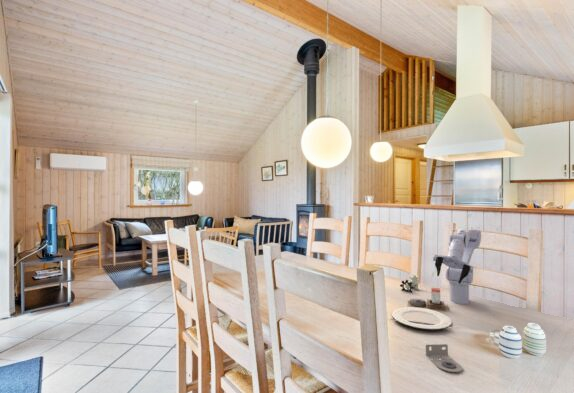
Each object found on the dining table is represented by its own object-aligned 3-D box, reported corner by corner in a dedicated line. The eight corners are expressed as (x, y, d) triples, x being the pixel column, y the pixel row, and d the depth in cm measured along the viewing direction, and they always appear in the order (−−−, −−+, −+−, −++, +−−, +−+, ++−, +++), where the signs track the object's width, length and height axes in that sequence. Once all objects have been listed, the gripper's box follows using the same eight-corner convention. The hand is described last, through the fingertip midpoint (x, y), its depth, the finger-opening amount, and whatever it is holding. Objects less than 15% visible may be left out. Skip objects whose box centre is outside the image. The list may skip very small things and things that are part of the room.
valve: (409, 286, 162) (399, 292, 153) (409, 274, 162) (399, 278, 153) (422, 289, 158) (413, 295, 149) (422, 276, 158) (413, 281, 149)
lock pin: (431, 304, 132) (431, 287, 132) (439, 305, 131) (439, 288, 131) (431, 307, 129) (431, 289, 129) (440, 308, 128) (440, 290, 128)
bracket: (443, 375, 83) (443, 362, 83) (425, 356, 93) (425, 344, 93) (467, 374, 83) (467, 361, 83) (447, 355, 93) (447, 344, 93)
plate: (456, 337, 104) (456, 332, 104) (391, 329, 112) (391, 323, 112) (447, 315, 124) (447, 310, 124) (392, 309, 131) (392, 304, 131)
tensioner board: (407, 302, 138) (407, 295, 138) (448, 307, 132) (448, 300, 132) (407, 308, 131) (407, 301, 131) (450, 313, 125) (450, 306, 125)
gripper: (438, 242, 131) (430, 264, 122) (477, 253, 124) (472, 278, 115) (435, 253, 135) (427, 276, 126) (472, 265, 128) (467, 290, 119)
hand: (448, 278), depth 121 cm, fingers open, 7 cm apart
